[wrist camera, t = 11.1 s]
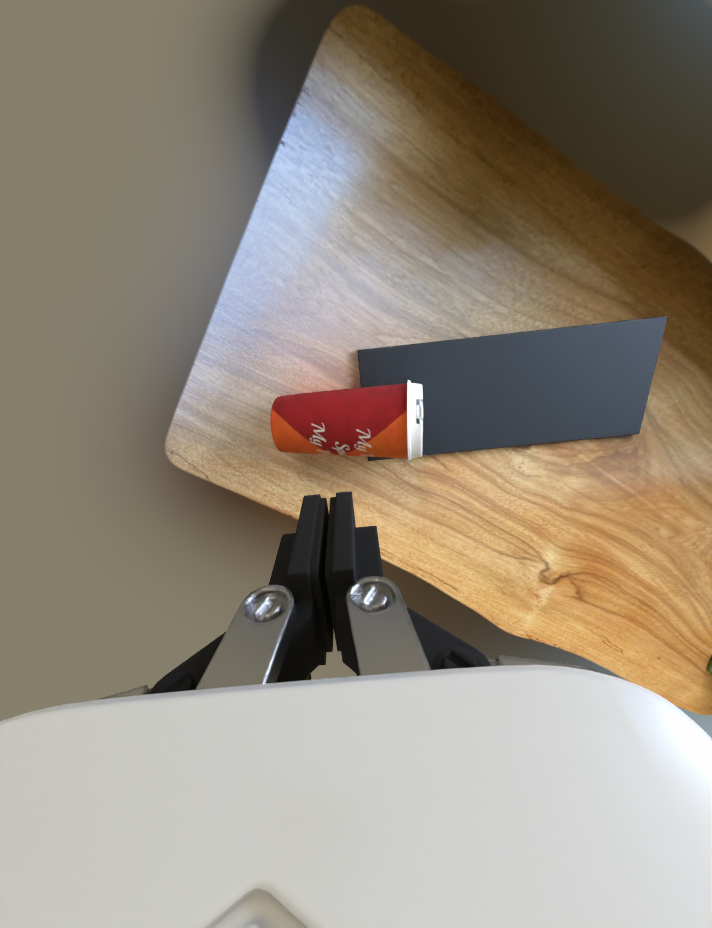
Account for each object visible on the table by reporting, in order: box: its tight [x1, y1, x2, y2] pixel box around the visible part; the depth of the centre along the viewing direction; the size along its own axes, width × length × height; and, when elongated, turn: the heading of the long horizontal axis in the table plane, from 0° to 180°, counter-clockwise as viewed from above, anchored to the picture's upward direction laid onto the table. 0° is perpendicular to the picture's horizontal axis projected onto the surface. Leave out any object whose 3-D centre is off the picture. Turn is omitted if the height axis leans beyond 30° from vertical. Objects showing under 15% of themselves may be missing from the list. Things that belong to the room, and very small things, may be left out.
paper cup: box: [270, 380, 423, 462], centre depth 35 cm, size 8×8×14 cm
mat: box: [357, 317, 667, 461], centre depth 37 cm, size 30×12×1 cm, turn 96°
